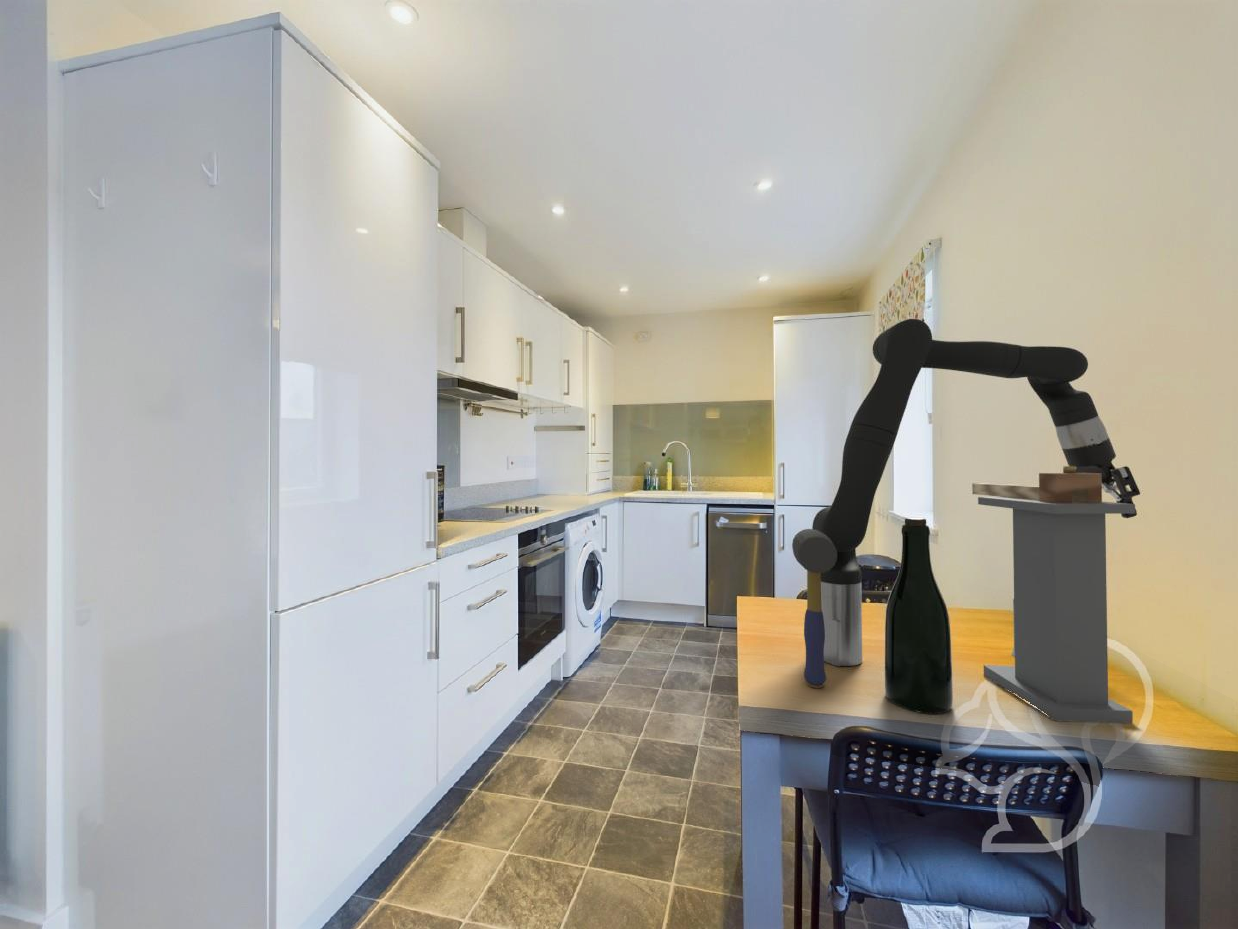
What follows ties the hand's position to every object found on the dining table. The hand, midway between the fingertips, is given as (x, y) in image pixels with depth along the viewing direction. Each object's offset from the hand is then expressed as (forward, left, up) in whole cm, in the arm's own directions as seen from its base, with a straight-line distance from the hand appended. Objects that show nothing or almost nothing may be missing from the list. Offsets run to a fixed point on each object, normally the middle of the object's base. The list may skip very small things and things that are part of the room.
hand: (1112, 514), depth 104 cm
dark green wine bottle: (-50, +13, -32) cm, 61 cm away
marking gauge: (-24, +7, +4) cm, 25 cm away
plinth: (-28, +2, -32) cm, 42 cm away
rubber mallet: (-60, +27, -32) cm, 73 cm away
